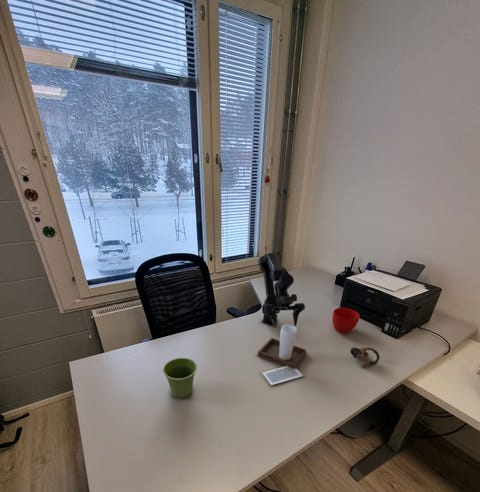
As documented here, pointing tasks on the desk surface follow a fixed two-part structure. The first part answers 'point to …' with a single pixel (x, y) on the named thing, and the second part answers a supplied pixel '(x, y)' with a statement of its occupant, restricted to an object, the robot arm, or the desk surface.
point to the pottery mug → (364, 355)
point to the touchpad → (281, 375)
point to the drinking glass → (287, 341)
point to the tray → (272, 354)
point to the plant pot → (180, 376)
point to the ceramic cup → (345, 319)
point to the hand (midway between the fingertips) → (285, 326)
